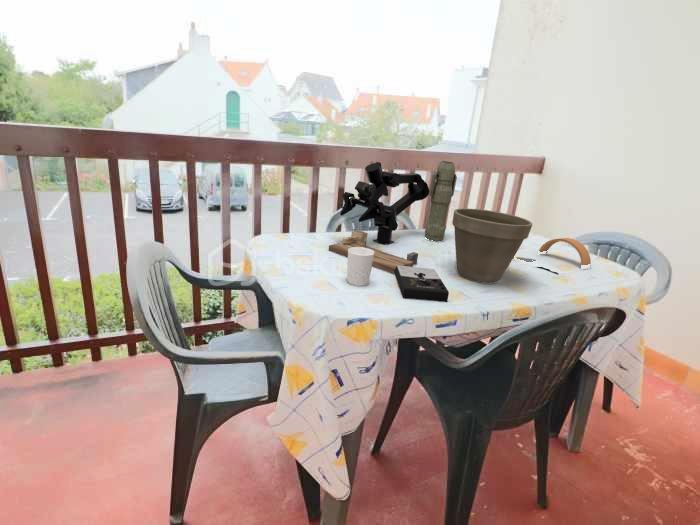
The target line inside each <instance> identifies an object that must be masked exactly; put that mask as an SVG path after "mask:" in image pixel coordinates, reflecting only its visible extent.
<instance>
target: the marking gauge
mask: <svg viewBox="0 0 700 525" xmlns="http://www.w3.org/2000/svg"><path fill="white" fill-rule="evenodd" d="M368 235H369V234H368V232H367V231H363V230H359V229H357V230H352V231H351V235H350V236H348V237H343V238H342V242H343V243H344V244H346V243H350V242H355V243H358V244H361V245H364V246H367V244H368Z"/></svg>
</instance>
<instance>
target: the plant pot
mask: <svg viewBox="0 0 700 525" xmlns="http://www.w3.org/2000/svg"><path fill="white" fill-rule="evenodd" d="M452 216H453V217H452V222H451V223H452V226H453V227H454V244H455V248H454V249H455V260H456V261H455V262H456V265H455V266H456V272H457V274H458V275H459V276H460V277H462V278H465V279H467V280H470V281H472V282H476V283H482V284H495V283H496V284H497V283H498V282H500V281H501V279H502V277H503V276H504V274H505V273H506V271H507V269H508V267H509V266H510V265H511V263H512V261H513V260H514V256H515V257H516V254H517V253H518V251H519V249H520V247H521V245H522V244H523V242H524V241H525V240H526V239H528V237H529V235H530V233H531V230H532V227H533V222H531V221H530V220H528V219H526V218H523V217H520V216H517V215H513V214H510V213H507V212H506V213H505V212H501V211H496V210H487V209H481V208H457V209H456V208H455V209H454V210H453V215H452Z"/></svg>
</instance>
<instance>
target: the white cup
mask: <svg viewBox="0 0 700 525" xmlns="http://www.w3.org/2000/svg"><path fill="white" fill-rule="evenodd" d="M373 258H374V251H373V250H371V249H368V248H363V247H352V248H349V249H348V257H347V263H346V264H347V265H346V266H347V268H346V271H347V272H346V274H347V276H346V281H347V283H349V284H350V285H353V286H355V287H356V286H357V287H359V286H360V287H364V286H367V285H369V284H370V283H369V282H370V277H371V275H372V274H371V273H372V268H373V267H372V263H373Z"/></svg>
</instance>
